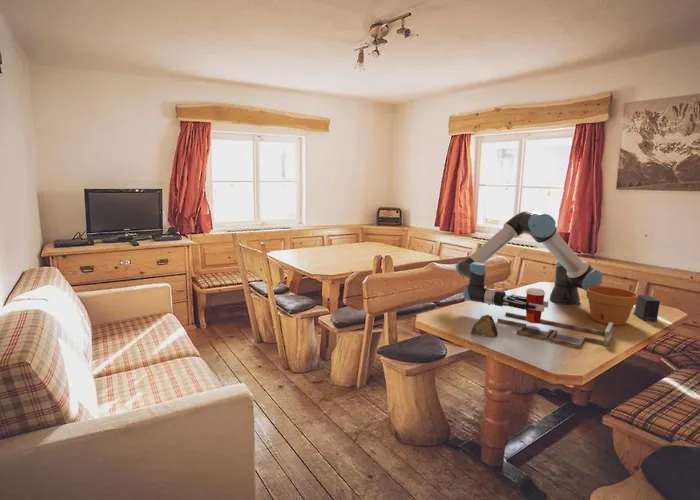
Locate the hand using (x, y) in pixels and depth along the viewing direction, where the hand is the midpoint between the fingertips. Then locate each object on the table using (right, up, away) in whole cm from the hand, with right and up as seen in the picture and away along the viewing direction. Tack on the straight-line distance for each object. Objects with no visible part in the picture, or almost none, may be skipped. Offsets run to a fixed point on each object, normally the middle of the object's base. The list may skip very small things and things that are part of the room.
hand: (545, 306), depth 192 cm
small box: (+58, -8, +18) cm, 61 cm away
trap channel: (0, -11, -3) cm, 11 cm away
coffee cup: (-4, -8, +4) cm, 10 cm away
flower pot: (+37, -9, +14) cm, 40 cm away
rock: (-30, -12, -7) cm, 33 cm away
